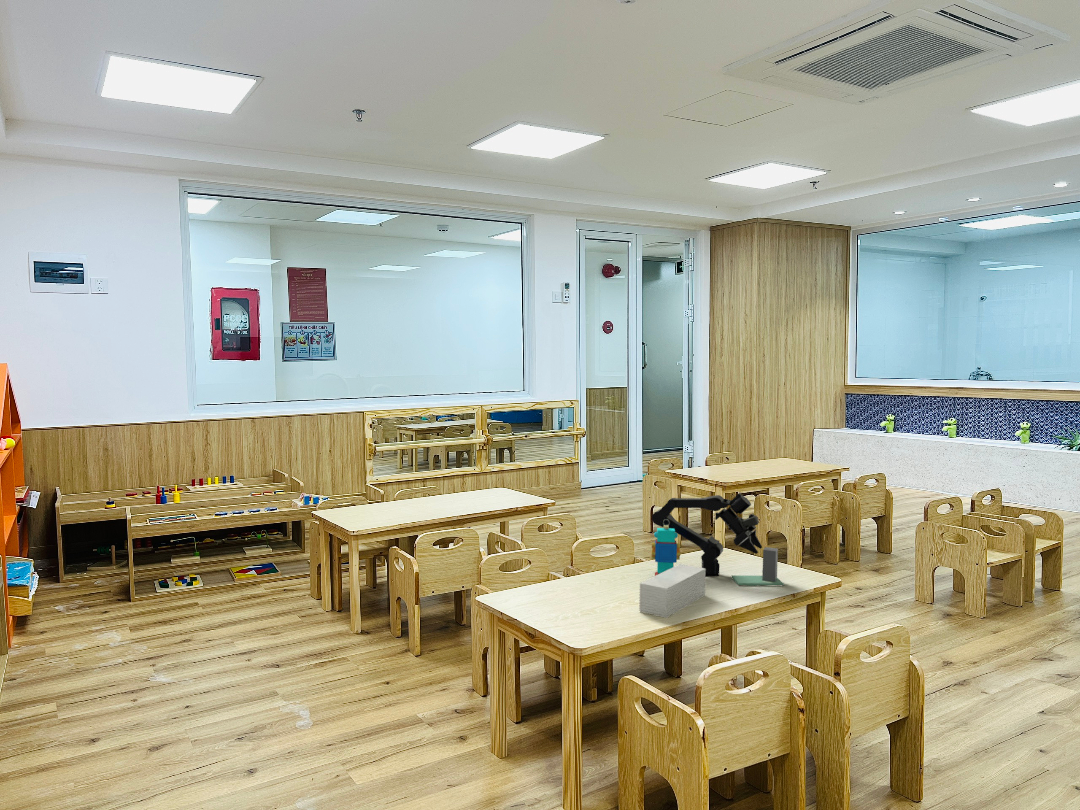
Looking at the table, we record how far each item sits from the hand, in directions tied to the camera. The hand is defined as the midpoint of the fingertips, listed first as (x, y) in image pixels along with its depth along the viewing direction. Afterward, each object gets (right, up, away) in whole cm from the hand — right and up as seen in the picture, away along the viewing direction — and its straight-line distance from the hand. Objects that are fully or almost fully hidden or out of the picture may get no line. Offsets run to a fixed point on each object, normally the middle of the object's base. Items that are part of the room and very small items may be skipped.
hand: (759, 550), depth 321 cm
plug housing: (+4, -12, -1) cm, 12 cm away
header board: (-1, -13, -1) cm, 13 cm away
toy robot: (-38, -12, +1) cm, 40 cm away
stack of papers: (-40, -15, -29) cm, 51 cm away
